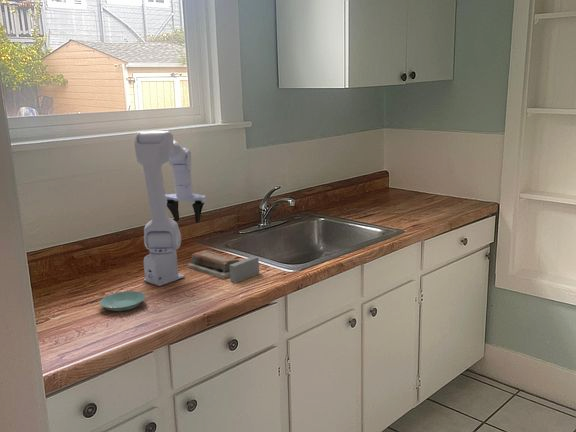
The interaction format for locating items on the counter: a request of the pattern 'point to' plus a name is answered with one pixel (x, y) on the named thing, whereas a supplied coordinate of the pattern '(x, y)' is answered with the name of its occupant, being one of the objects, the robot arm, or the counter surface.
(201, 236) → the counter surface
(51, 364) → the counter surface
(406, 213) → the counter surface
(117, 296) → the saucer
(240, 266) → the board
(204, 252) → the packaged product
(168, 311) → the counter surface
